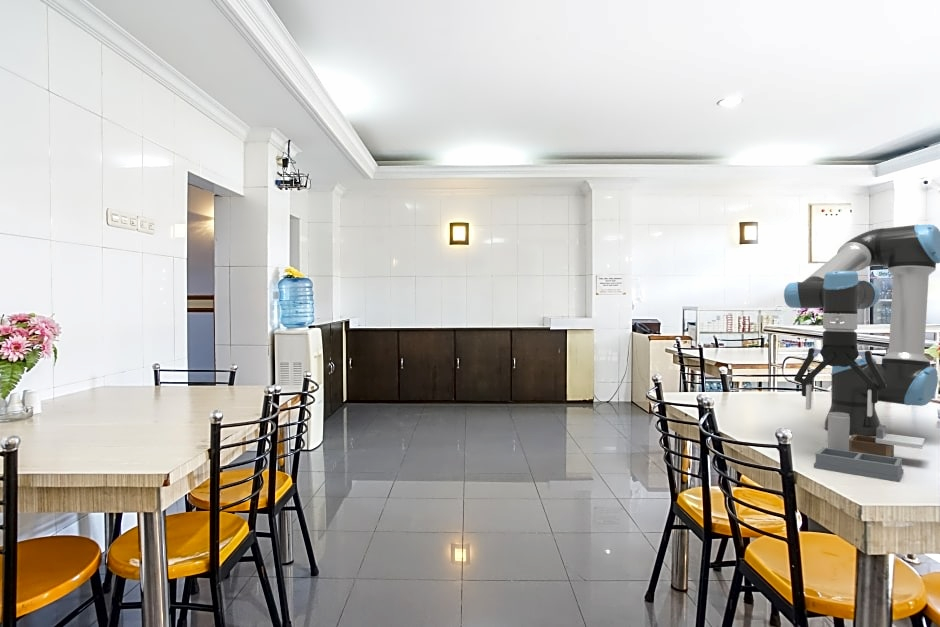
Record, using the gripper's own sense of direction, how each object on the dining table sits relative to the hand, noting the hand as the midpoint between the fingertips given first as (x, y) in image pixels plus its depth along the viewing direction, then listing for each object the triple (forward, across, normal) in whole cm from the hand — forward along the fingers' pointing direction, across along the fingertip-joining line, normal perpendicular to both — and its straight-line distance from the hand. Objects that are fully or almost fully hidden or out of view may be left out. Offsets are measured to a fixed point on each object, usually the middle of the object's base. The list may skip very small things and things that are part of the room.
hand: (838, 412), depth 150 cm
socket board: (+12, +6, -8) cm, 16 cm away
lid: (+7, +12, +9) cm, 17 cm away
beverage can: (+12, 0, 0) cm, 13 cm away
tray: (+12, +6, +9) cm, 16 cm away
